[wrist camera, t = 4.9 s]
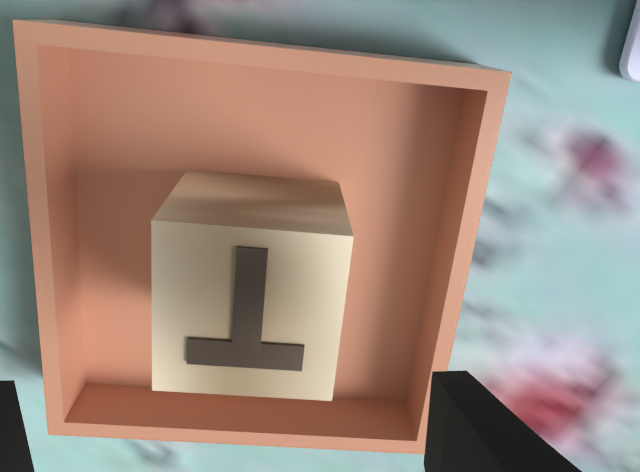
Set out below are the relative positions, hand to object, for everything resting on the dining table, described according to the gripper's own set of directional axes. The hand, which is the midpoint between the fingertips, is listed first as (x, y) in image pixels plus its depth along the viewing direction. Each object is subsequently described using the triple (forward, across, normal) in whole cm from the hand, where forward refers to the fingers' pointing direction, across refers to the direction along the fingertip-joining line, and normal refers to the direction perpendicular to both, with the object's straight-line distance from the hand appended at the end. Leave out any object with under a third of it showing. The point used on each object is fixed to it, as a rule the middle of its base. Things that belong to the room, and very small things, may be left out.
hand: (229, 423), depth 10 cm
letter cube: (+8, 0, 0) cm, 8 cm away
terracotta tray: (+9, 0, 0) cm, 9 cm away
